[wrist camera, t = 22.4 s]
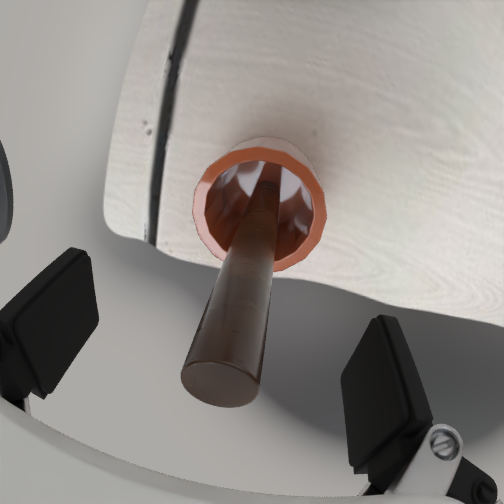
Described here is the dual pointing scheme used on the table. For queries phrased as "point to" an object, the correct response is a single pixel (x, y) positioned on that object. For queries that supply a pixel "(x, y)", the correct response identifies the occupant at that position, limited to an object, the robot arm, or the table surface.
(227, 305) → the stick
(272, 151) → the holder
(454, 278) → the table surface
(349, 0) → the table surface
